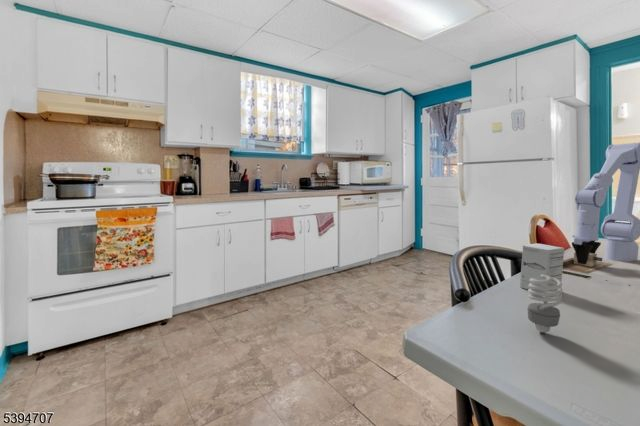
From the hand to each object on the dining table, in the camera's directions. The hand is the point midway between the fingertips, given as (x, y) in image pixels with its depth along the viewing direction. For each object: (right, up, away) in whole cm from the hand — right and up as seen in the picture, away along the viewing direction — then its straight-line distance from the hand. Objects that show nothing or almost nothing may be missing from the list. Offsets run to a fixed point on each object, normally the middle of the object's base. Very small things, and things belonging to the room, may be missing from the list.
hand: (584, 262), depth 112 cm
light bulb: (-47, -7, -47) cm, 67 cm away
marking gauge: (0, -1, 0) cm, 1 cm away
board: (-1, -2, -1) cm, 3 cm away
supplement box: (-30, -5, -21) cm, 37 cm away
